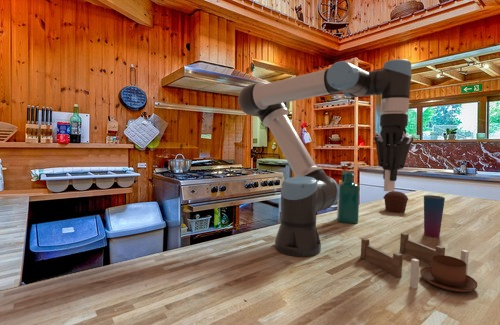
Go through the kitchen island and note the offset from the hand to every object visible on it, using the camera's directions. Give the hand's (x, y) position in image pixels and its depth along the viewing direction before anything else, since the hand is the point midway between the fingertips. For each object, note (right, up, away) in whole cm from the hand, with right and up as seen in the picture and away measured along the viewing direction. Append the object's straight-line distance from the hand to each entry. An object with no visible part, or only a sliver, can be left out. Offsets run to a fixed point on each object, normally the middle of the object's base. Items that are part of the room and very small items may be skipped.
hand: (388, 190), depth 88 cm
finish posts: (+6, -22, -14) cm, 27 cm away
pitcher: (+1, -18, +41) cm, 45 cm away
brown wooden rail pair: (+2, -21, -3) cm, 21 cm away
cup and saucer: (+7, -23, -15) cm, 28 cm away
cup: (+27, -20, +22) cm, 40 cm away
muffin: (+32, -17, +60) cm, 70 cm away
